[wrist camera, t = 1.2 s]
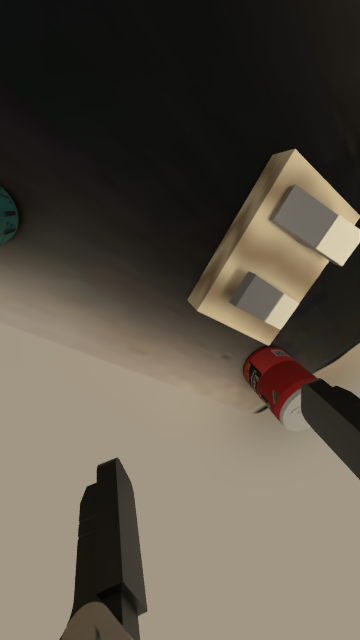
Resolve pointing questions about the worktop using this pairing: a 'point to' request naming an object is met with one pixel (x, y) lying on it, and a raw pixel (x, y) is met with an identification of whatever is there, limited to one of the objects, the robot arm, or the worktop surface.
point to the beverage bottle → (7, 217)
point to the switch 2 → (316, 226)
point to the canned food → (279, 384)
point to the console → (266, 247)
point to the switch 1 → (263, 301)
